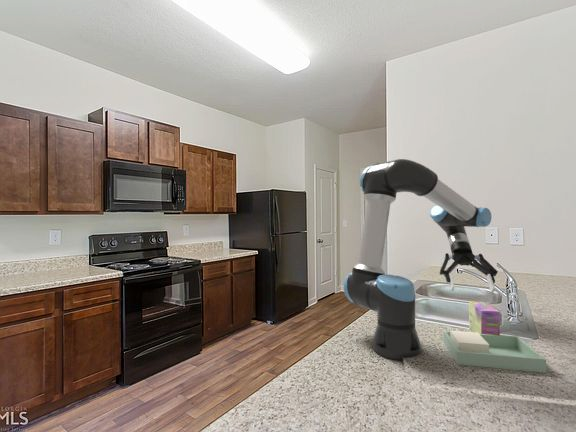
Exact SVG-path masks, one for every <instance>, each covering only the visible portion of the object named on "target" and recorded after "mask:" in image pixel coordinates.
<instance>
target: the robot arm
mask: <svg viewBox="0 0 576 432" xmlns="http://www.w3.org/2000/svg"><path fill="white" fill-rule="evenodd" d="M359 186H360V187H361V191H362V192H363V197H364V199H365V200H366V206H365V207H366V208H365V214H364V219H363V225H362V226H363V227H362V231H361V232H362V233H361V239H360V246H359V252H358V259H357V263H355V265H354V266H353V267H352V271H351V272H350V273H348V274H347V275H346V276H345V278H344V281H343V292H344V295H345V297H346V298H347V300H349V302H350V303H353V304H354V305H356V306H359V307H363V308H365V309H368V310H371V311H373V312H376V313H377V319H376V320H377V324H376V328H375V331H374V335H373V337H372V342H371V344H372V350H373V351H374V352H375V353H377V354H378V355H379V356H381V357H384V358H387V359H390V360H396V361H403V360H404V359H405V358H407V359H409V358H414V357H415V358H416V357H418V356H420V355H421V354H422V351H423V349H422V348H423V347H422V343H421V341H420V337H419V334H418V332H417V329H416V292H415V285H414V282H413V281H411V280H410V279H409V278H406V277H404V276H401V275H394V274H386V272H385V271H384V269H383V267H382V266H383V258H384V252H385V245H386V238H387V232H388V224H389V218H390V217H389V216H390V210H391V204H392V203H394V202H395V201H396V198H397V193H403V192H404V193H412V194H414V195H416V196H418V197H424V198H426V199H427V200H429V201H431V202H432V203H433V204H435V205H434V206H432V208H431V209H430V212H429V217H431V219H432V220H433V222H434V223H436V224H437V225H438V226H439V227H440V228H441V229H442V230H443V232H445V233H446V236H447V240H448V243H449V247H450V251H451V254H449V253H445V255H444V261H443V263H442V265H441V268H440V271H439V275H441V276H442V275H443V276H444V278H445V280H446V283H449V286H450V291H451V292H454V291H455V282H454V279H453V273H452V272H453V271H454V269H455V268H456V267H458V265H460V266H468V267H469V266H471V267H472V268H475V269H476V270H478V271H480V272H481V273H482V274H483V275H484V276H485V278H486V281H487V285H488V288H489V291H490V293H491V294H492V293H494V292H495V290H496V287H495V282H496V279H495V277H496V276H497V275H498V272H499V271H498V270H497V269H496V268H495V267H494V266H493V265H492V264H490V262H489V261H488V260H487V259H486V258H485V257H484V256H483V254H482V253H479V254H478V255H475V254H474V252H473V250H472V247H471V243H470V240H469V237H468V234H467V231H466V229H465V227H468V228H469V227H473V228H475V227H476V228H480V227H481V228H483V227H484V228H486V227H488V226H489V225H490V224H491V222H492V218H493V217H492V212H491V210H490V209H489V208H487V207H477V206H475V205H474V204H472V202H470V201H468V200H467V199H466V198H464V197H463V195H460V194H459V193H457V192H456V191H455V190H454V189H452V188H451V187H449V186H448V185H447V184H445V183H444V182H443V181H441V180H440V179H439V176H438V174H437V173H436V172H434V171H433V170H432V169H430V168H429V167H427V166H426V165H423V164H422V163H419V162H417V161H414V160H410V159H406V158H398V159H394V160H391V161H385V162H378V163H375V164H372V165H369V166H367V167H366V168H365V169H364V170H363V171H362V173H361V175H360V177H359ZM451 259H452V260H453V262H452V264H450V266H448V268H447V269H446V267H447V265H448V263H449V261H450V260H451Z"/></svg>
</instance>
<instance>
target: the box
mask: <svg viewBox="0 0 576 432" xmlns="http://www.w3.org/2000/svg"><path fill="white" fill-rule="evenodd" d="M500 319H501V312H500V311H499V310H498V309H496V308H494V307H493V306H491V305H490V303H489V304H488V303H487V302H483V301H469V302H468V327H469V328H468V332H475V333H479V334H491V335H501V334H500V333H501V331H500V330H501V328H500V327H501V324H500V322H501V320H500Z"/></svg>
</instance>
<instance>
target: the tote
mask: <svg viewBox="0 0 576 432" xmlns="http://www.w3.org/2000/svg"><path fill="white" fill-rule="evenodd" d="M480 335H481V336H482V338H483V339H484V340H485V341H486V342H487V343H488V344H489V353H477V352H466V351H459V350H458V348H457V347H456V345H455V344H454V342H453V341H452V339H451V338H450V331H446V330H443V335H442V336H443V337H442V339H443V343H444V345H445V346H446V349H447V350H448V352H449V353H450V355H451V357H452V358H453V360H454V361H455V363H456V365H460V366H472V367H473V366H474V367H482V368H490V369H491V368H492V369H501V370H502V369H505V370H513V371H524V372H533V373H534V372H537V373H546V374H547V358H545V357H544V356H543V355H541V354H540V353H539V352H538V351H536V350H535V349H534V348H532V347H531V346H530V345H529V344H527V342H526V341H524V340H523V339H522V338H520V337H519V336H518V335H517V336H516V335H501V334H500V335H491V334H480Z"/></svg>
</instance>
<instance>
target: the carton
mask: <svg viewBox="0 0 576 432" xmlns="http://www.w3.org/2000/svg"><path fill="white" fill-rule="evenodd" d="M449 332H450V338H451V339H452V341H453V342H454V344H455V345H456V347H457V348H458V350H459V351H466V352H477V353H489V344H488V343H487V342H486V341H485V340H484V339H483V338H482V336H481V335H480V334H479V333H475V332H470V331H461V330H460V331H459V330H449Z"/></svg>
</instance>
